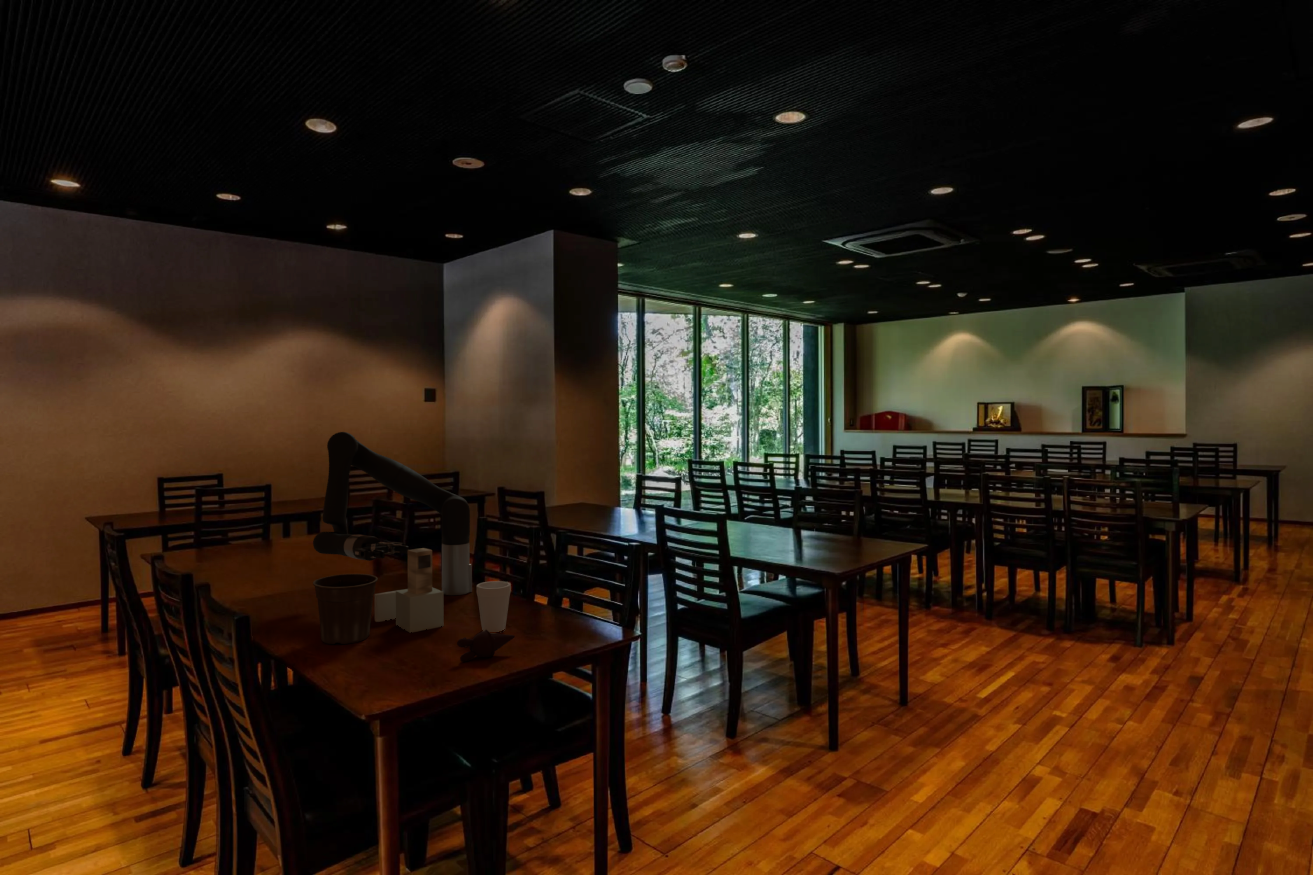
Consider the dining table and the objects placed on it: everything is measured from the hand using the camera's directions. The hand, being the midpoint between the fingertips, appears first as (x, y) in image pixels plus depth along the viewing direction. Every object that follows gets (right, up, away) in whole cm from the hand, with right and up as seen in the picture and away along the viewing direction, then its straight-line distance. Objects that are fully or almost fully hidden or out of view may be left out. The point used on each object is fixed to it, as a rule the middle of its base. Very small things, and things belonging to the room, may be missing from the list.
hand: (396, 552), depth 215 cm
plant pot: (-7, -21, -19) cm, 29 cm away
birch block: (+9, -10, -6) cm, 15 cm away
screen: (+1, -20, +3) cm, 20 cm away
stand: (+9, -20, -6) cm, 23 cm away
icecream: (+35, -21, -33) cm, 53 cm away
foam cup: (+32, -21, -10) cm, 39 cm away
